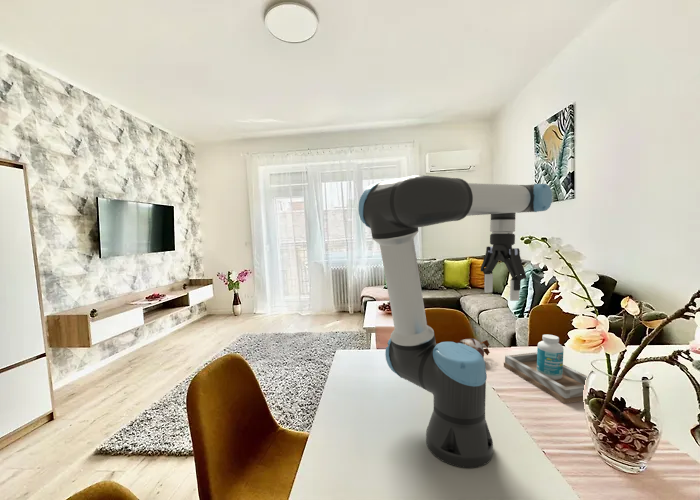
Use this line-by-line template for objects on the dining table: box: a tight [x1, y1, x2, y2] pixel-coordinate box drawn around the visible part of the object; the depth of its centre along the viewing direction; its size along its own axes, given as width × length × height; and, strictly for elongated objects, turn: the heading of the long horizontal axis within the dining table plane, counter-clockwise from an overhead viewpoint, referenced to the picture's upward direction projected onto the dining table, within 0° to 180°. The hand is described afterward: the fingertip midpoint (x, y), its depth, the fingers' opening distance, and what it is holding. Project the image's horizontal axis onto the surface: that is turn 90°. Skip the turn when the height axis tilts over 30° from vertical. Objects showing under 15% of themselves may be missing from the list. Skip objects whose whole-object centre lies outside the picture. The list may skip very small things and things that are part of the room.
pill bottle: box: [536, 334, 564, 380], centre depth 108 cm, size 8×7×14 cm
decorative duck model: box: [459, 338, 491, 358], centre depth 127 cm, size 15×8×15 cm
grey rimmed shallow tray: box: [503, 351, 588, 404], centre depth 109 cm, size 26×15×4 cm, turn 12°
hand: (500, 296), depth 109 cm, fingers open, 13 cm apart
